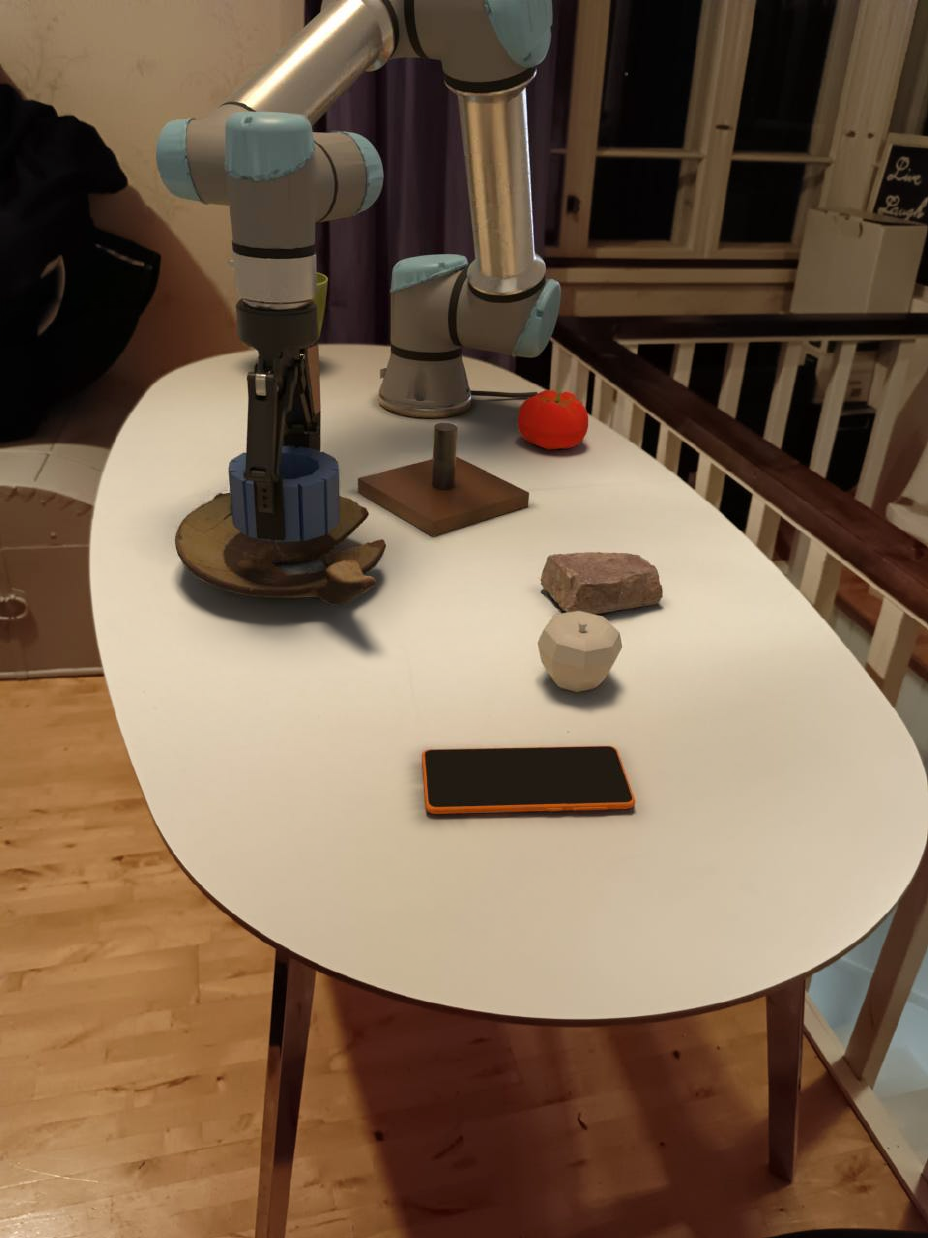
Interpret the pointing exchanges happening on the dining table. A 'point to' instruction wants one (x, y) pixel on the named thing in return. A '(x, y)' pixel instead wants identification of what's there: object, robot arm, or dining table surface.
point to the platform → (443, 489)
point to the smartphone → (525, 779)
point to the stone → (601, 581)
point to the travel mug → (315, 383)
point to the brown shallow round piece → (276, 556)
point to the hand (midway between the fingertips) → (286, 513)
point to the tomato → (553, 420)
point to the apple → (579, 649)
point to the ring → (292, 494)
